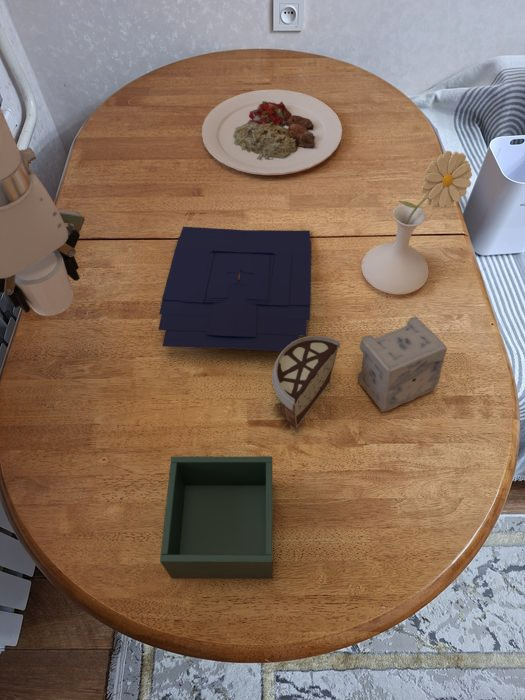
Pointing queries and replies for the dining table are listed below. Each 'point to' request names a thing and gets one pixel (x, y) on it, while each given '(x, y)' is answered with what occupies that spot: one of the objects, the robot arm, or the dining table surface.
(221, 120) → the plated food
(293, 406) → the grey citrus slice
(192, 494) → the open square box
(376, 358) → the incense holder
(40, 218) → the robot arm
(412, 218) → the flower in vase
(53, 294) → the light grey rounded piece
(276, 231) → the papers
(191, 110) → the dining table surface
